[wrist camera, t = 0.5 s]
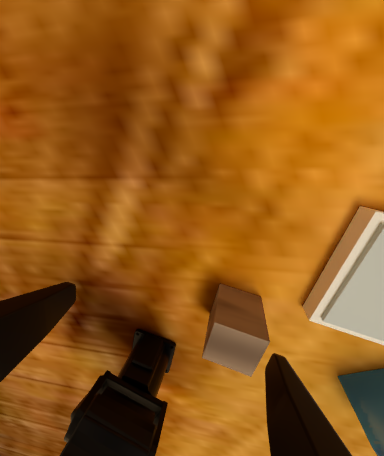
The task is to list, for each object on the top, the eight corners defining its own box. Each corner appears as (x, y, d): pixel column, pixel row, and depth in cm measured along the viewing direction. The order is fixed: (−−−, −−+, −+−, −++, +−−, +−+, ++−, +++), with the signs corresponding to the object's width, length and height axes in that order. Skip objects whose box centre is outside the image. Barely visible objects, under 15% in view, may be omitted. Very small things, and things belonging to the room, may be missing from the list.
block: (247, 326, 23) (251, 376, 18) (209, 313, 24) (202, 357, 18) (261, 296, 21) (269, 341, 16) (220, 283, 22) (214, 322, 17)
